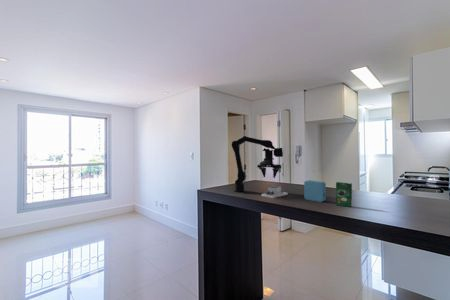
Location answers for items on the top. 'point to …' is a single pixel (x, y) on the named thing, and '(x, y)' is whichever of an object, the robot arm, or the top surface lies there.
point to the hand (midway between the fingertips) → (269, 177)
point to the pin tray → (274, 195)
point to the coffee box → (344, 194)
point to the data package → (315, 190)
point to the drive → (274, 190)
